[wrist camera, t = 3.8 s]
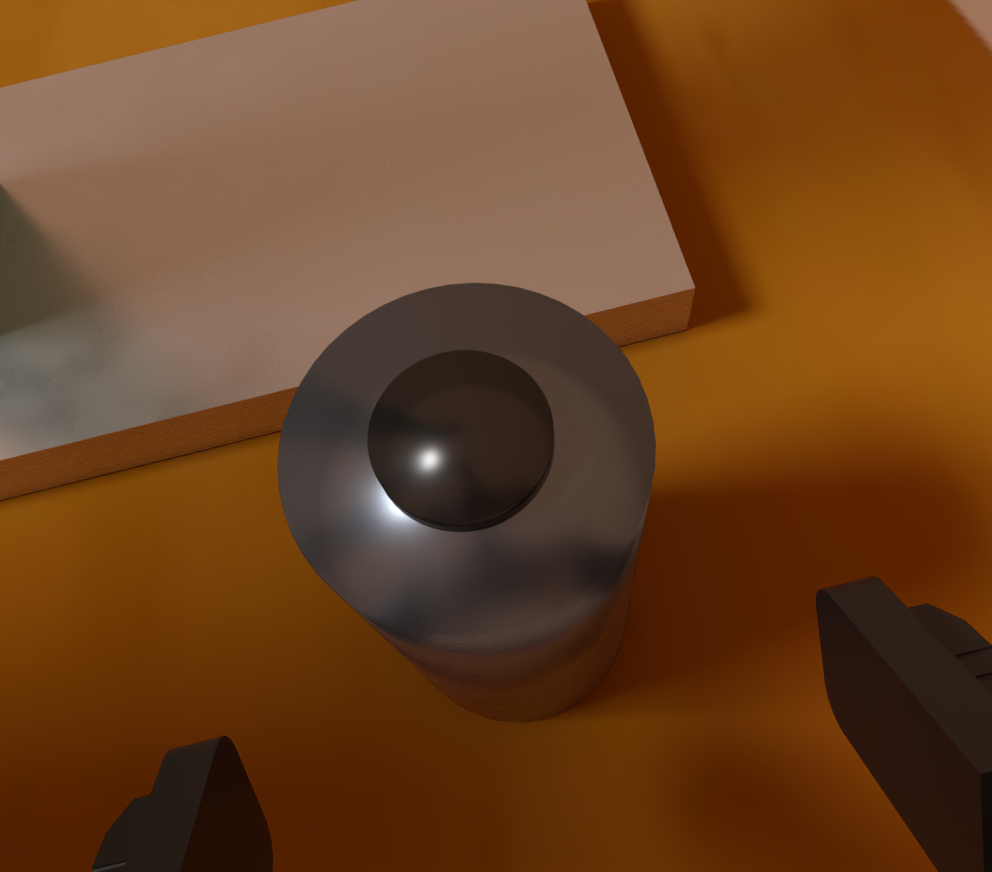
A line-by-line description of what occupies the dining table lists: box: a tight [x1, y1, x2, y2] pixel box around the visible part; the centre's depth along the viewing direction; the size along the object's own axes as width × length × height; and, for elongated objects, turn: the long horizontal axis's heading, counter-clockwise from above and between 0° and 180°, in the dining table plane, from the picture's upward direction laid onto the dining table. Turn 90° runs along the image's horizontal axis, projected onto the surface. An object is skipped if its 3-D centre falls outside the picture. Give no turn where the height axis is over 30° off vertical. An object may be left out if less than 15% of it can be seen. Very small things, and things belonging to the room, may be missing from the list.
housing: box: [278, 283, 656, 722], centre depth 16 cm, size 5×5×10 cm
